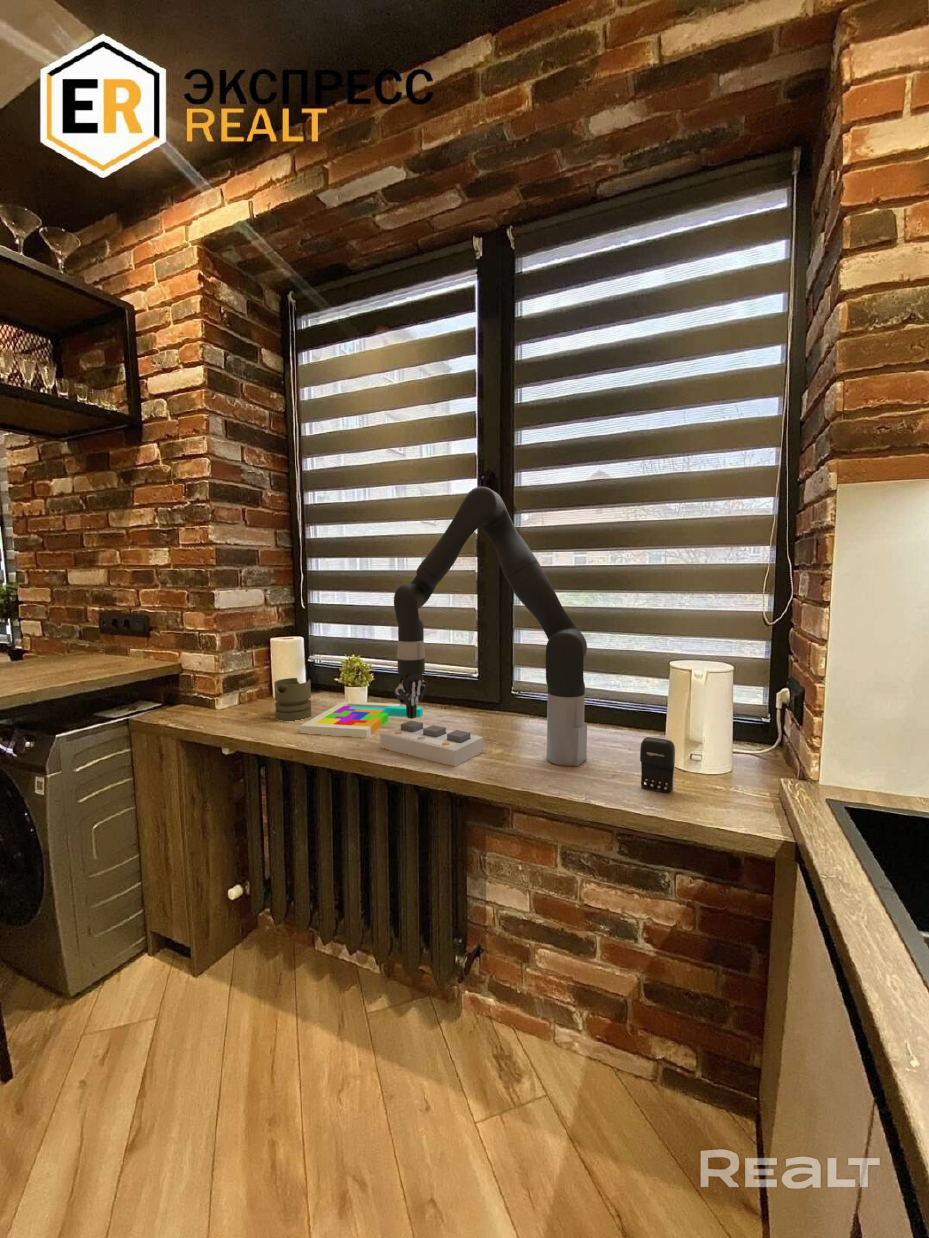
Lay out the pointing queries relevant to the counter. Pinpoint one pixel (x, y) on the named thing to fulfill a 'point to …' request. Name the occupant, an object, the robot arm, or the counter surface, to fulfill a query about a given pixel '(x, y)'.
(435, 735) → the button middle
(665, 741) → the battery charger
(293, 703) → the piston
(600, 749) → the counter surface
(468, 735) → the button near
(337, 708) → the puzzle game
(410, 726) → the button far
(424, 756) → the button panel
